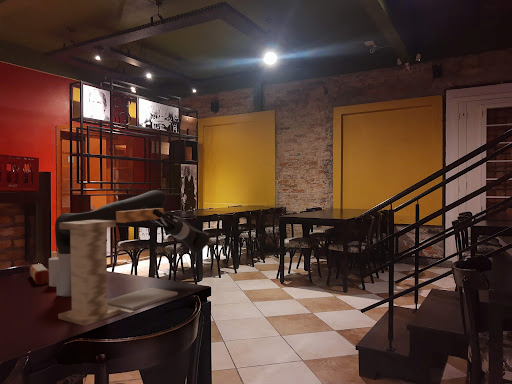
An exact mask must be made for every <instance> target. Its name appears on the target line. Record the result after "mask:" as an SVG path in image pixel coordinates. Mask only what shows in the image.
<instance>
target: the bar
mask: <svg viewBox="0 0 512 384" xmlns="http://www.w3.org/2000/svg"><path fill="white" fill-rule="evenodd" d="M154 209H157V210H159V211H160V212H163V213H164V211H165V210H164V211H163V209H164V208H153V209H145V208H144V209H143V208H142V209H140V210H129V211H117V212H116V222H117V223H121V224H122V223H123V224H125V223H134V222H142V221H151V220H152V219H160V217H157V216H156V215H154V214H153V210H154Z"/></svg>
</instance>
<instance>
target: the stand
mask: <svg viewBox="0 0 512 384" xmlns="http://www.w3.org/2000/svg"><path fill="white" fill-rule="evenodd" d="M115 227H117V223H116V221H110V220H85V221H74V222H63V223H59V229H69V230H70V247H71V294H72V296H71V309H70V310H67V311H63V312H61V313H58V314H57V315H58V317H57V319H59V320H62V321H65V322H69V323H73V324H75V325H79V326H83V327H85V326H88V325H91V324H94V323H97V322H99V321H102V320H105V319H108V318H112V317H113V316H117V315H120V314H121V313H122V311H121V309H119V307H118V308H114V307H110V306H107V300H108V274H107V273H108V271H107V268H108V267H107V263H108V262H107V228H115Z"/></svg>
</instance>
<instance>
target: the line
mask: <svg viewBox="0 0 512 384" xmlns="http://www.w3.org/2000/svg"><path fill="white" fill-rule="evenodd" d="M107 306H110V305H107ZM110 307H114V306H110ZM114 308H119V307H114ZM119 309H121V312H125V313H127V314H133V313H135V311H134V310H127V309H123V308H119ZM132 312H133V313H132Z"/></svg>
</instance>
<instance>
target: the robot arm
mask: <svg viewBox="0 0 512 384" xmlns="http://www.w3.org/2000/svg"><path fill="white" fill-rule="evenodd" d="M166 201H167V194H166V193H165V192H164V191H162V190H158V189H154V190H150V191H147V192H145V193H142V194H139V195H136V196H132V197H129V198H126V199H123V200H117V201H114V202H109V203H107V204H105V205H102V206H100V207H99V208H97V209H94V210H91V211H85V212H80V213H77V212H76V213H72V212H71V213H70V212H66V213H61V214H59V215H58V216H57V218H56V220H55V224H54V234H55V245H56V248H57V257H58V272H56V285H57V287H56V296H58V297H72V294H71V247H70V230H69V229H59V223H63V222H74V221H85V220H110V221H116V212H117V211H129V210H141V209H143V208H144V209H153V208H163V211H164V213H163V212H160V211H159V210H157V209H154V210H153V214H154V215H156V216H157V217H160V219H152V220H150V222H151V223H153V224H156V223H157V224H159V225H160V226H162V229H163V231H164V232H165V233H167V234H168V235H171V236H172V237H173V238H175V239H177V240H179V241H181V242H182V243H184V245H186V247H187V248H188V249H189V251H190V252H191V254H195V255H197V254H200V253H201V252H202V251H203V249H204V248H205V247H206V246H207V245H208V244H209V242H210V236H209V235H208V234H207V233H205V232H204V231H201V230H199V229H196V228H195V227H194V226H192V225H191V224H190V223H189V222H188V221H187V220H185V219H184V218H183V217H180V216H176V215H172V214H170V213H168V212H166V211H165V209H164V208H165V204H166ZM117 223H118V222H116V224H117Z"/></svg>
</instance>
